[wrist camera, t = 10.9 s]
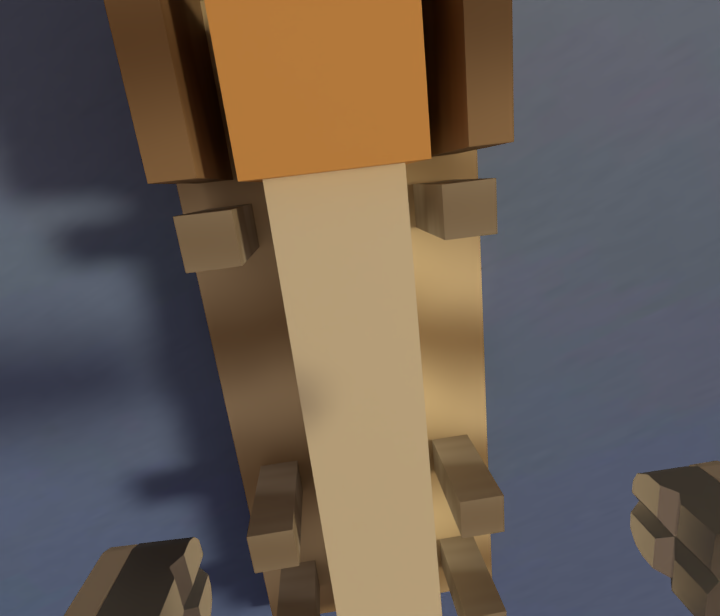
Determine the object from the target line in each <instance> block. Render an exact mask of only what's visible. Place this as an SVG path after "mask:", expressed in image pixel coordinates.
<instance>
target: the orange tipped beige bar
mask: <svg viewBox="0 0 720 616" xmlns="http://www.w3.org/2000/svg"><path fill="white" fill-rule="evenodd" d="M204 2H205V7H206V13H207V18H208V24H209V29H210V34H211V40H212V45H213V50H214V56H215V61H216V66H217V72H218V77H219V83H220V88H221V93H222V99H223V104H224V109H225V115H226V120H227V126H228V131H229V136H230V142H231V147H232V152H233V158H234V163H235V168H236V174H237V179H238V182H263V185H264V191H265V197H266V203H267V209H268V215H269V221H270V226H271V232H272V238H273V244H274V250H275V256H276V262H277V267H278V273H279V279H280V285H281V291H282V297H283V303H284V308H285V314H286V320H287V326H288V332H289V338H290V344H291V349H292V355H293V361H294V367H295V373H296V379H297V385H298V390H299V396H300V402H301V408H302V414H303V420H304V426H305V431H306V437H307V443H308V449H309V455H310V461H311V467H312V472H313V478H314V484H315V490H316V496H317V502H318V507H319V513H320V519H321V525H322V531H323V537H324V543H325V548H326V554H327V560H328V566H329V572H330V578H331V584H332V589H333V595H334V601H335V607H336V613H337V616H442V609H441V596H440V584H439V572H438V559H437V547H436V535H435V523H434V510H433V498H432V486H431V473H430V461H429V449H428V436H427V424H426V412H425V400H424V387H423V375H422V363H421V350H420V338H419V326H418V313H417V301H416V289H415V277H414V264H413V252H412V240H411V227H410V215H409V203H408V190H407V178H406V166H405V164H409V163H414V162H418V161H423V160H428V159H432V158H431V142H430V127H429V111H428V96H427V81H426V65H425V50H424V34H423V19H422V4H421V0H204Z"/></svg>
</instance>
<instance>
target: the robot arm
mask: <svg viewBox="0 0 720 616" xmlns="http://www.w3.org/2000/svg"><path fill="white" fill-rule="evenodd" d="M632 493H633V494H634V495H635V496H636V498H637V499H638V500H639V502H638V503H637V505H636V506H635V507H634V509H633V510H632V511H631V523H630V528H631V531H632V534H633V537H634V541H635V544H636V545H637V547H638V549H639V551H640V552H641V554H642V556H643V557H644V558H645V559H646V561H647V562H648V563H649V564H650V565H651V567H652V568H654V569H656V570H657V571H659V572H661V573H663V574H665V575H667V576H669V577H670V578H671V588H672V591H673V592H674V593H675V595H676V596H677V597H678V598H679V599H680V600H681V601H682V603H683V604H684V605H685V606H686V607H687V608H688V610H689V611H690V612H691V613H692V614H693V615H694V616H720V462H719V461H711V462H705V463H699V464H693V465H690V466H684V467H678V468H671V469H664V470H658V471H651V472H644V473H638V474H637V475H636V477H635V478H634V480H633V488H632ZM202 557H203V552H202V549H201V545H200V542H199V539H197V538H195V537H190V538H182V539H173V540H165V541H156V542H148V543H139V544H138V545H127V546H119V547H111V548H109V549H108V550H107V551H105V552H104V553H103V554H102V555H101V557H100V558H99V560H98V561H97V563H96V565H95V566H94V568H93V570H92V571H91V573H90V574H89V576H88V578H87V579H86V581H85V582H84V584H83V586H82V587H81V589H80V590H79V592H78V594H77V595H76V597H75V598H74V600H73V602H72V603H71V605H70V606H69V608H68V610H67V611H66V613H65V615H64V616H211V606H212V593H211V584H210V580H209V576H208V574H207V573H206V572H204V571H203V570H202V569H201V568H199V566H200V563H201V560H202Z"/></svg>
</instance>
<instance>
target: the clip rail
mask: <svg viewBox="0 0 720 616" xmlns="http://www.w3.org/2000/svg"><path fill="white" fill-rule="evenodd" d="M104 4H105V8H106V12H107V16H108V20H109V25H110V29H111V33H112V37H113V41H114V45H115V50H116V54H117V58H118V62H119V66H120V70H121V75H122V79H123V83H124V87H125V91H126V95H127V99H128V104H129V108H130V112H131V116H132V120H133V124H134V129H135V133H136V137H137V141H138V145H139V149H140V154H141V158H142V162H143V166H144V170H145V174H146V178H147V183H148V184H177V189H178V193H179V198H180V202H181V207H182V211H183V215H179V216H174V217H173V219H174V224H175V228H176V232H177V237H178V241H179V245H180V250H181V254H182V259H183V263H184V267H185V272H186V273H192V272H196V274H197V279H198V283H199V288H200V292H201V297H202V301H203V306H204V310H205V315H206V319H207V324H208V328H209V333H210V337H211V342H212V346H213V351H214V355H215V360H216V364H217V369H218V373H219V378H220V382H221V386H222V391H223V395H224V400H225V404H226V409H227V413H228V418H229V422H230V427H231V431H232V436H233V440H234V445H235V449H236V454H237V458H238V463H239V467H240V472H241V476H242V481H243V485H244V490H245V494H246V499H247V503H248V508H249V512H250V522H249V527H248V532H247V542H248V546H249V550H250V555H251V559H252V563H253V568H254V572H255V573H260V572H263V575H264V580H265V584H266V589H267V593H268V598H269V602H270V607H271V611H272V615H273V616H320V614H322V613H327V612H333V611H336V607H335V601H334V595H333V589H332V584H331V578H330V572H329V566H328V560H327V554H326V548H325V543H324V537H323V531H322V525H321V519H320V513H319V507H318V502H317V496H316V490H315V484H314V478H313V472H312V467H311V461H310V455H309V449H308V443H307V437H306V431H305V426H304V420H303V414H302V408H301V402H300V396H299V390H298V385H297V379H296V373H295V367H294V361H293V355H292V349H291V344H290V338H289V332H288V326H287V320H286V314H285V308H284V303H283V297H282V291H281V285H280V279H279V273H278V267H277V262H276V256H275V250H274V244H273V238H272V232H271V226H270V221H269V215H268V209H267V203H266V197H265V191H264V185H263V182H238V179H237V174H236V168H235V163H234V158H233V152H232V147H231V142H230V136H229V131H228V126H227V120H226V115H225V109H224V104H223V99H222V93H221V88H220V83H219V77H218V72H217V66H216V61H215V56H214V50H213V45H212V40H211V34H210V29H209V24H208V18H207V13H206V7H205V2H204V0H104ZM421 4H422V19H423V34H424V50H425V65H426V81H427V96H428V111H429V127H430V142H431V158H432V159H428V160H423V161H418V162H414V163H409V164H405V166H406V178H407V190H408V203H409V215H410V227H411V240H412V252H413V264H414V277H415V289H416V301H417V313H418V326H419V338H420V350H421V363H422V375H423V387H424V400H425V412H426V424H427V436H428V449H429V461H430V473H431V486H432V498H433V510H434V523H435V535H436V547H437V559H438V572H439V584H440V593H442V592H447V591H450V593H451V596H452V599H453V602H454V605H455V608H456V611H457V614H458V616H506V610H505V607H504V605H503V603H502V600H501V598H500V596H499V594H498V591H497V589H496V587H495V585H494V582H493V580H492V568H491V539H490V534H492V533H498V532H504V495H503V494H502V492H501V490H500V489H499V487H498V485H497V484H496V482H495V480H494V479H493V477H492V475H491V473H490V472H489V470H488V453H487V425H486V396H485V368H484V339H483V310H482V282H481V253H480V236H483V235H491V234H497V199H496V178H486V179H478V167H477V149H482V148H486V147H491V146H496V145H500V144H505V143H510V142H514V116H513V35H512V0H421Z"/></svg>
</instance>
